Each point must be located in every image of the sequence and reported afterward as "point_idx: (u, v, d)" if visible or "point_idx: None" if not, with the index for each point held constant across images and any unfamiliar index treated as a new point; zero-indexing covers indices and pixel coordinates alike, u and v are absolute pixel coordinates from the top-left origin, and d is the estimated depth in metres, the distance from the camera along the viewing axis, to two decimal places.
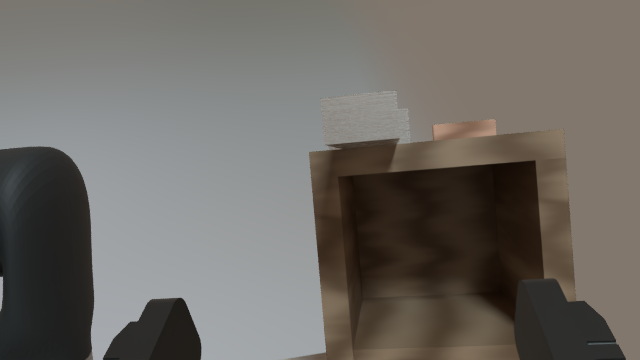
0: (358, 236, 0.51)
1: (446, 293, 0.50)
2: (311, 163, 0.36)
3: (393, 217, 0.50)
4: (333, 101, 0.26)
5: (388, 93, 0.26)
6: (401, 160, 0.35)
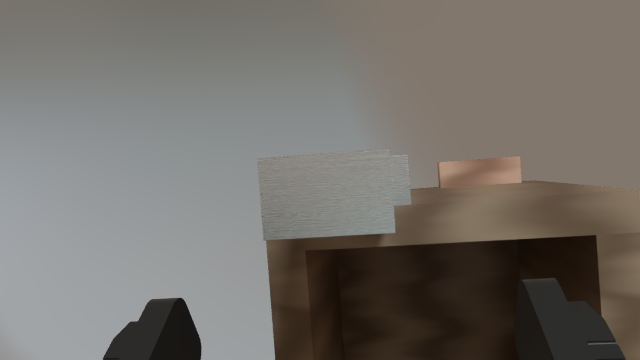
0: (341, 303, 0.39)
1: None
2: None
3: (386, 279, 0.39)
4: (279, 164, 0.15)
5: (375, 153, 0.14)
6: (397, 229, 0.24)
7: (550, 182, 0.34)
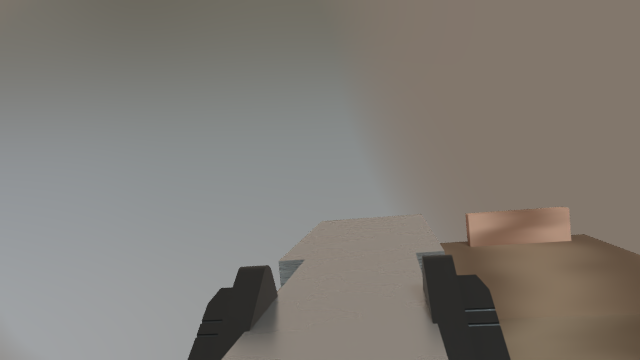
0: None
1: None
2: None
3: None
4: None
5: None
6: None
7: (612, 246, 0.27)
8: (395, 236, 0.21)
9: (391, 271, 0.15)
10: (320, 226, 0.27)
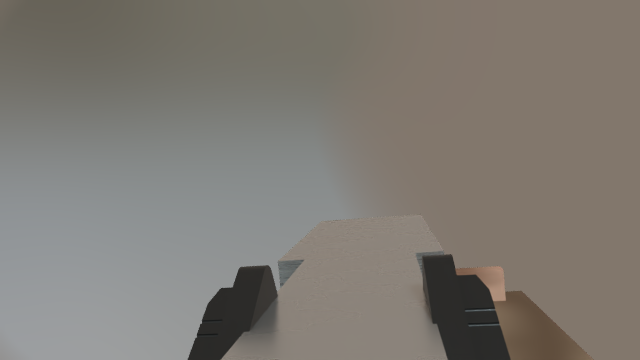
0: None
1: None
2: None
3: None
4: None
5: None
6: None
7: (539, 311, 0.28)
8: (395, 236, 0.21)
9: (391, 271, 0.15)
10: (320, 226, 0.27)
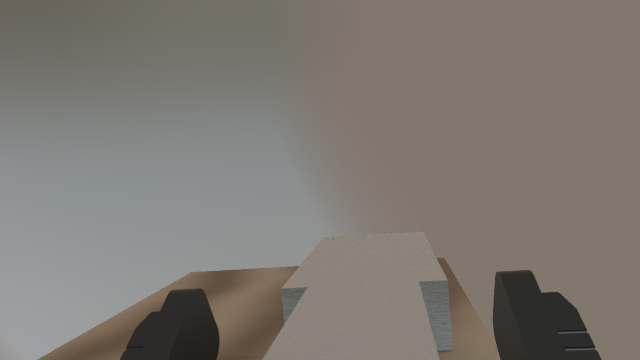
0: None
1: None
2: None
3: None
4: None
5: None
6: None
7: (449, 273, 0.28)
8: (397, 259, 0.21)
9: (395, 305, 0.15)
10: (321, 244, 0.27)
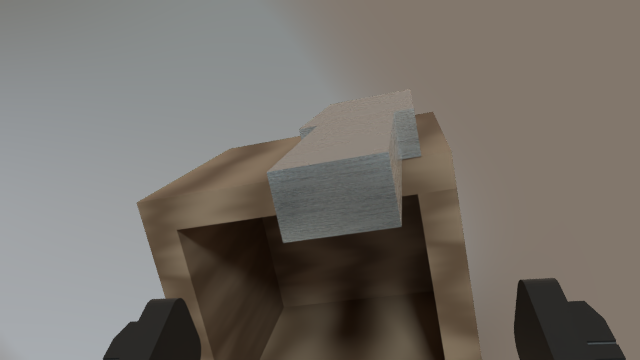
0: (268, 242, 0.44)
1: (374, 296, 0.43)
2: (142, 216, 0.29)
3: None
4: (287, 175, 0.16)
5: (375, 157, 0.15)
6: (249, 205, 0.27)
7: (433, 119, 0.36)
8: (384, 105, 0.29)
9: (373, 122, 0.22)
10: (329, 107, 0.35)
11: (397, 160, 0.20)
